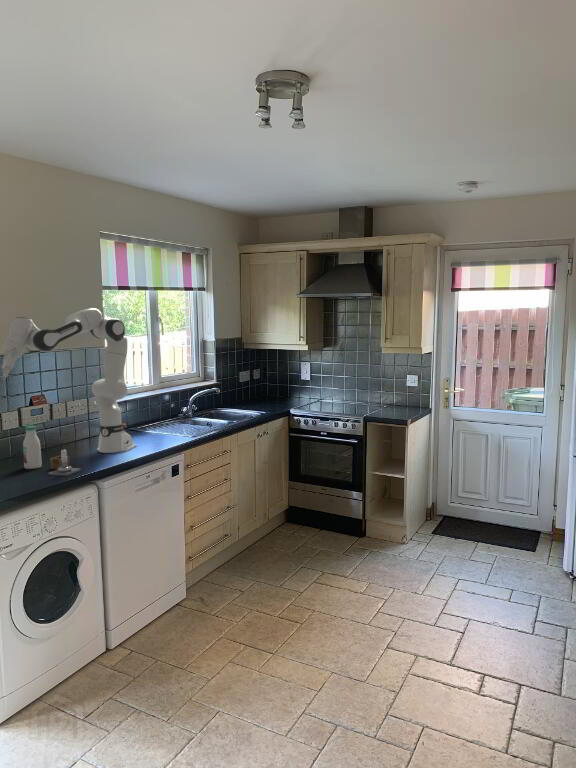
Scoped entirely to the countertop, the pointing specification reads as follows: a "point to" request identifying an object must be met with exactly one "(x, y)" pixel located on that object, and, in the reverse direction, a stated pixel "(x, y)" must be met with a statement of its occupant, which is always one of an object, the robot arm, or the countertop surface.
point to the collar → (57, 462)
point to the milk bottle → (31, 449)
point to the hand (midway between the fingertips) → (4, 377)
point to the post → (64, 467)
